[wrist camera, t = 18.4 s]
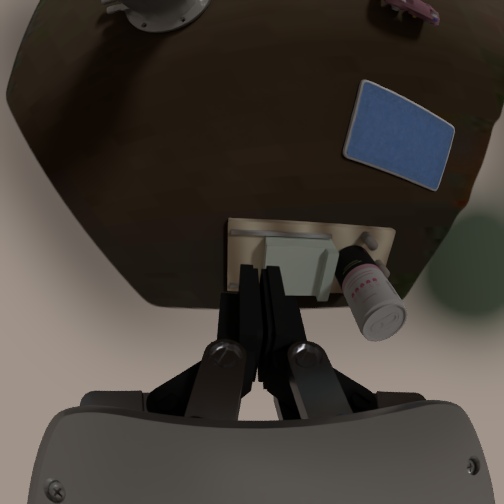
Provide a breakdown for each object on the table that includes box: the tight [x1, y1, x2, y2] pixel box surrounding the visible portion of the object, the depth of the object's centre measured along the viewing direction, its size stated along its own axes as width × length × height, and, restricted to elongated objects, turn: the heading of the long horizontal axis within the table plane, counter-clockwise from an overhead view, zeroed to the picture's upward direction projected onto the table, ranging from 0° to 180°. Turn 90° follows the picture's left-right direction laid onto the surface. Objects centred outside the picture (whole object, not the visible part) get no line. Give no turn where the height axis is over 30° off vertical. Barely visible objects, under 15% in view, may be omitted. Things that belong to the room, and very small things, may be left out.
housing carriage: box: [263, 236, 339, 301], centre depth 40 cm, size 10×8×5 cm
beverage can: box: [334, 245, 407, 341], centre depth 36 cm, size 7×7×15 cm
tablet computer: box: [343, 80, 455, 191], centre depth 33 cm, size 19×13×1 cm, turn 78°
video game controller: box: [384, 0, 439, 26], centre depth 20 cm, size 10×5×7 cm, turn 86°
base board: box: [227, 218, 396, 293], centre depth 41 cm, size 27×12×5 cm, turn 87°
